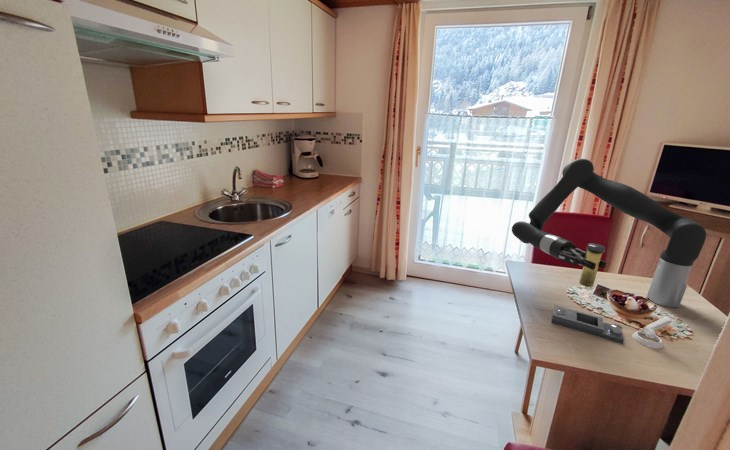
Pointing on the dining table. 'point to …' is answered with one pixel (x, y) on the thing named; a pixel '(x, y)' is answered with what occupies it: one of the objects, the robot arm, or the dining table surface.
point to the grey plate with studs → (600, 329)
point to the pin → (593, 256)
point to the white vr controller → (652, 333)
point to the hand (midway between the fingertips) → (599, 266)
